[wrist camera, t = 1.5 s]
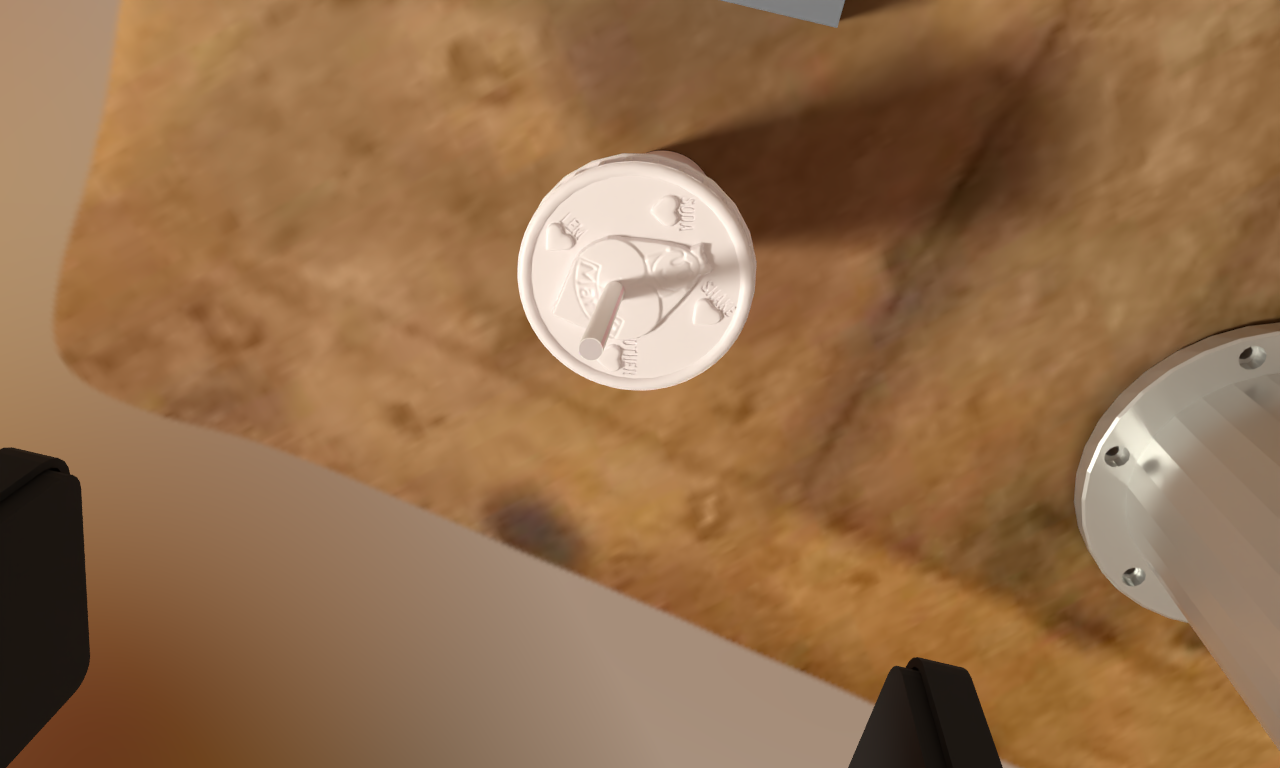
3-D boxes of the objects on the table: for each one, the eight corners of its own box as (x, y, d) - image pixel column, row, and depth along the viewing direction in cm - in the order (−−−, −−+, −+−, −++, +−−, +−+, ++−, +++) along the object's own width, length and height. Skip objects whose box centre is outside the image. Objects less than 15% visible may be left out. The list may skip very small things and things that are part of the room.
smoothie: (545, 150, 32) (421, 257, 20) (715, 81, 31) (700, 148, 18) (614, 310, 35) (542, 501, 22) (776, 253, 33) (800, 422, 20)
